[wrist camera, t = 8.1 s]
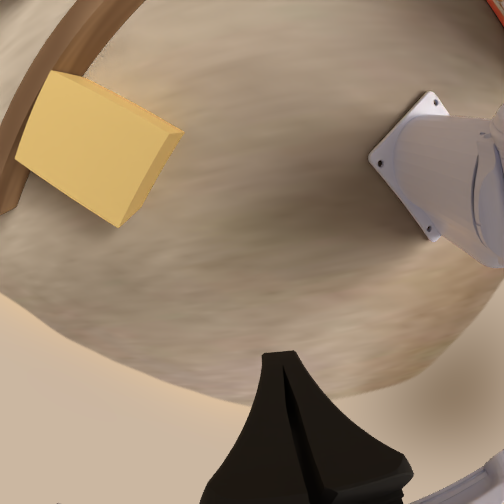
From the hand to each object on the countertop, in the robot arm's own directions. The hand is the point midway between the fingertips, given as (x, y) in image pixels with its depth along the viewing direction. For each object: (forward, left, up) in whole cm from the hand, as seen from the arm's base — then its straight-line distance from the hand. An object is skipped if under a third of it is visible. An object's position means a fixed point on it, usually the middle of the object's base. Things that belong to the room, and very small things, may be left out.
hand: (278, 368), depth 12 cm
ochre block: (+14, 0, -11) cm, 18 cm away
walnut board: (+20, -2, -10) cm, 23 cm away
